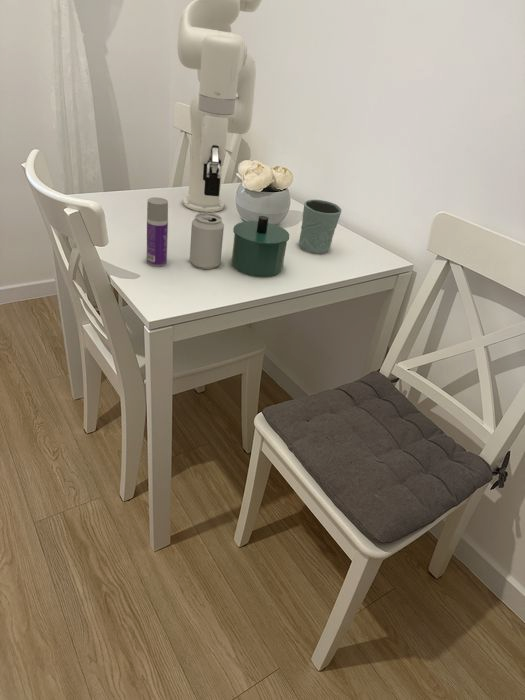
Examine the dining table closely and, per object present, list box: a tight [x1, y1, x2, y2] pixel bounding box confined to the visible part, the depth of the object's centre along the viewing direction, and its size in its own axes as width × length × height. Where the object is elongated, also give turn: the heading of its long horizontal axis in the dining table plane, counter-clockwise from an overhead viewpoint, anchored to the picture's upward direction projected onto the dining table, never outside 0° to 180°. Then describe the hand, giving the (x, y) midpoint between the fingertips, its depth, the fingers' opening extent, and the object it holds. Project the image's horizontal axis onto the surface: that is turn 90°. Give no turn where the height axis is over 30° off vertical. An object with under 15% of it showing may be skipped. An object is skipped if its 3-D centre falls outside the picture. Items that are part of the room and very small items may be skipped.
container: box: [146, 196, 169, 268], centre depth 117 cm, size 5×5×15 cm
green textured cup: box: [298, 199, 342, 255], centre depth 138 cm, size 10×10×12 cm
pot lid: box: [232, 215, 290, 245], centre depth 122 cm, size 14×14×5 cm
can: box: [189, 212, 225, 270], centre depth 121 cm, size 8×8×12 cm
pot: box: [231, 233, 288, 278], centre depth 125 cm, size 13×13×8 cm
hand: (210, 187), depth 114 cm, fingers open, 9 cm apart
